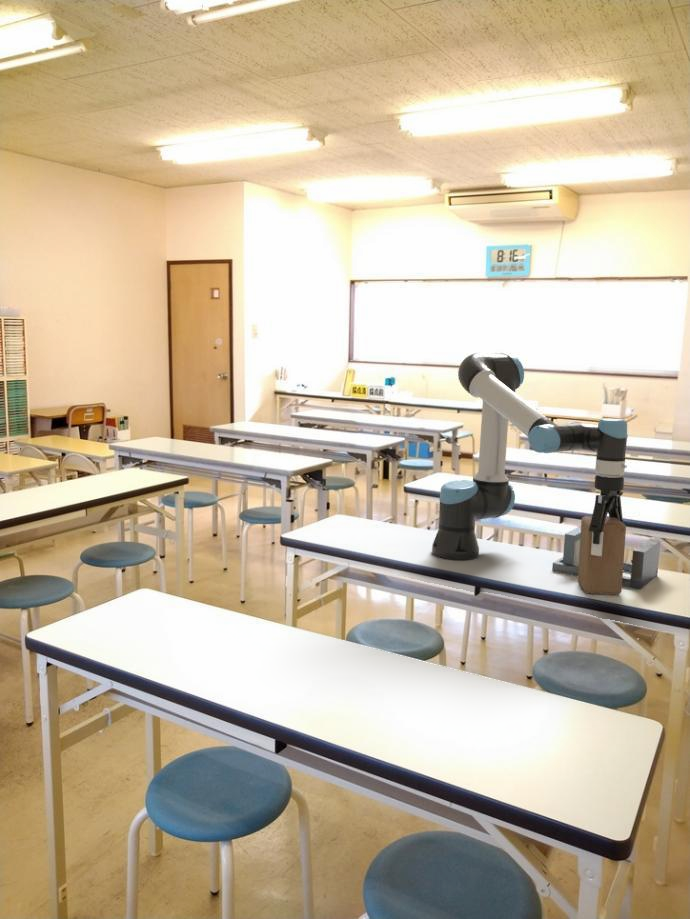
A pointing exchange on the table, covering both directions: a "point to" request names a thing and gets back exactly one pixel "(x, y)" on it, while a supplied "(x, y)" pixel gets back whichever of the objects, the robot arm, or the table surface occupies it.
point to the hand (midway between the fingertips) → (604, 550)
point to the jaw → (572, 547)
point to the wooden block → (602, 558)
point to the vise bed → (629, 565)
